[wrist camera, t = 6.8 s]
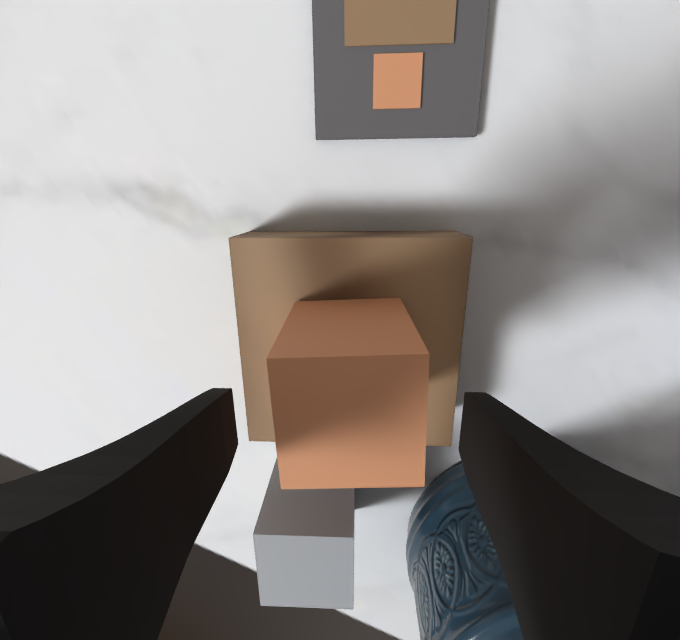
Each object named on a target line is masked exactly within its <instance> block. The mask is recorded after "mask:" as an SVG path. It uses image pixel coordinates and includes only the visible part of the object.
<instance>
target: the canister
mask: <svg viewBox="0 0 680 640" xmlns="http://www.w3.org/2000/svg"><path fill="white" fill-rule="evenodd" d="M406 560H407V566H408V576H409V580H410V584H411V587H412V589H413V592H414V596H415V603H416V610H417V617H418V624H419V632H420V639H421V640H524V639H523V635H522V632H521V628H520V625H519V621H518V618H517V614H516V611H515V608H514V604H513V601H512V598H511V595H510V591H509V588H508V585H507V581H506V578H505V575H504V572H503V569H502V566H501V563H500V560H499V558H498V555H497V552H496V550H495V547H494V545H493V543H492V540H491V538H490V535H489V533H488V531H487V528H486V526H485V523H484V521H483V519H482V516H481V514H480V511H479V509H478V506H477V504H476V502H475V499H474V497H473V494H472V492H471V489H470V487H469V484H468V482H467V479H466V476H465V472H464V468H463V465H462V463H461V464H459V465H457V466H455V467H453V468H451V469H450V470H448V471H447V472H445V473H444V474H442V475H441V476H440V477H438V478H437V479H436V480H435V481H434V482H432V483H431V484H430V485H429V486H428V488H427V489H426V490H425V491H424V492H423V493H422V495H421V496H420V498H419V499H418V501H417V502H416V504H415V506H414V508H413V511H412V513H411V516H410V520H409V525H408V538H407V544H406Z"/></svg>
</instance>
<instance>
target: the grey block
mask: <svg viewBox="0 0 680 640" xmlns="http://www.w3.org/2000/svg"><path fill="white" fill-rule="evenodd" d="M354 503H355V488H331V489H281V486H280V477H279V468H278V459H276V462H275V465H274V469H273V472H272V475H271V478H270V481H269V485H268V488H267V491H266V494H265V497H264V501H263V504H262V507H261V510H260V514H259V517H258V520H257V523H256V526H255V530H254V533H253V539H254V548H255V558H256V567H257V576H258V585H259V594H260V603H261V606H284V607H308V608H309V607H310V608H332V609H353V605H354Z"/></svg>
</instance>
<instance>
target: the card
mask: <svg viewBox="0 0 680 640" xmlns="http://www.w3.org/2000/svg"><path fill="white" fill-rule="evenodd" d="M488 11H489V0H312V21H313V56H314V92H315V127H316V140H345V139H399V138H452V137H475V136H477V126H478V115H479V105H480V94H481V84H482V73H483V63H484V53H485V42H486V32H487V21H488Z"/></svg>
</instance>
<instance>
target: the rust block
mask: <svg viewBox="0 0 680 640" xmlns="http://www.w3.org/2000/svg"><path fill="white" fill-rule="evenodd" d="M429 356H430V354H429V352H428V350H427V348H426V346H425V344H424V342H423V340H422V339H421V337H420V335H419V333H418V331H417V329H416V327H415V325H414V323H413V321H412V320H411V318H410V316H409V314H408V312H407V310H406V308H405V306H404V304H403V302H402V301H401V299H400V298H378V299H348V300H319V301H295V303H294V305H293V307H292V309H291V311H290V313H289V315H288V317H287V319H286V321H285V323H284V325H283V327H282V329H281V331H280V333H279V334H278V336H277V338H276V340H275V342H274V344H273V346H272V348H271V350H270V352H269V354H268V356H267V358H266V361H267V370H268V379H269V388H270V397H271V406H272V415H273V424H274V432H275V441H276V450H277V459H278V468H279V477H280V486H281V489H331V488H387V487H424V486H425V460H426V434H427V408H428V382H429Z"/></svg>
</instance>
